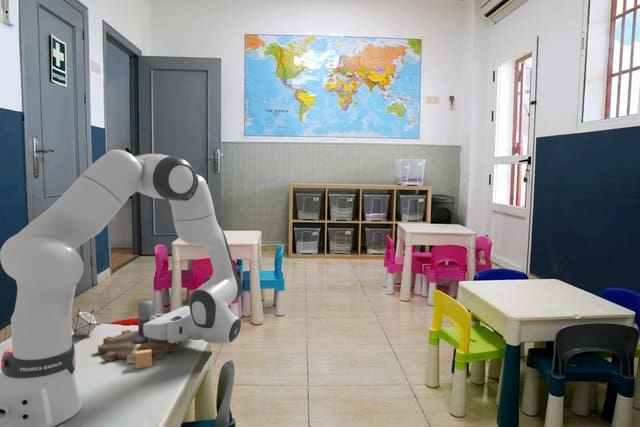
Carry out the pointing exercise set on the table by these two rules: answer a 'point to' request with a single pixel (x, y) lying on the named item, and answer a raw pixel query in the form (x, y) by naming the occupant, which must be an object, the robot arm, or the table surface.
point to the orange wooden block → (143, 358)
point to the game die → (83, 323)
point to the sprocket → (136, 339)
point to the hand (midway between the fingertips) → (152, 317)
